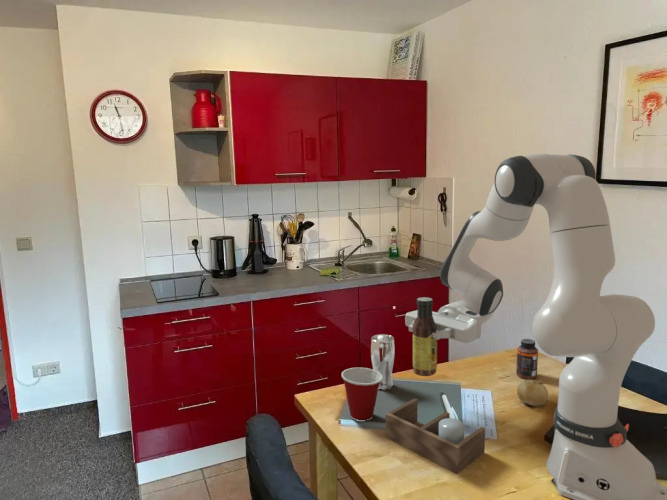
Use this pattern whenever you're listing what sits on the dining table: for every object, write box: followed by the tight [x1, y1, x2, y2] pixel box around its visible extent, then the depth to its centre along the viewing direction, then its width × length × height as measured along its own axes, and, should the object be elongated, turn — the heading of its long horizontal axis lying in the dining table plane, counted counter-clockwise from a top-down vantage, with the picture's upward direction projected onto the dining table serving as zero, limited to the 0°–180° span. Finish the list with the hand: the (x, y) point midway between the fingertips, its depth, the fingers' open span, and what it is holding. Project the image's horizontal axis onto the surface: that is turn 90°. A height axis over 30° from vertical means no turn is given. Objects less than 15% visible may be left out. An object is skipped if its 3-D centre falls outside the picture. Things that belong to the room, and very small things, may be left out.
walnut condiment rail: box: [385, 398, 486, 475], centre depth 116 cm, size 20×11×7 cm, turn 43°
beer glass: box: [370, 333, 395, 391], centre depth 148 cm, size 7×7×15 cm
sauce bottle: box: [412, 296, 438, 377], centre depth 129 cm, size 6×6×20 cm
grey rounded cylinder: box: [439, 417, 465, 444], centre depth 113 cm, size 6×6×7 cm
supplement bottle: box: [515, 338, 539, 380], centre depth 153 cm, size 6×6×11 cm
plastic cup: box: [341, 367, 383, 420], centre depth 131 cm, size 11×11×12 cm
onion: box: [516, 377, 549, 407], centre depth 137 cm, size 8×8×7 cm
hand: (422, 332), depth 128 cm, fingers closed on sauce bottle, 6 cm apart
